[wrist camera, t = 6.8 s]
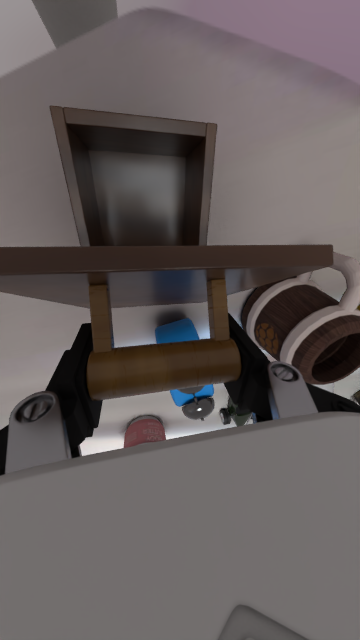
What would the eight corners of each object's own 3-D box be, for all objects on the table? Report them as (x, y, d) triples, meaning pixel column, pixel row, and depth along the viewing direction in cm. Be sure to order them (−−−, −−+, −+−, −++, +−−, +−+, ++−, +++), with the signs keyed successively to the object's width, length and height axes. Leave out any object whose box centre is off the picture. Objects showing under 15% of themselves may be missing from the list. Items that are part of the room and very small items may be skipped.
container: (114, 424, 47) (111, 461, 40) (151, 406, 46) (154, 440, 40) (138, 441, 53) (138, 476, 46) (171, 425, 52) (177, 458, 45)
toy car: (262, 365, 47) (274, 380, 42) (248, 415, 57) (257, 431, 53) (226, 371, 45) (235, 387, 41) (218, 421, 55) (225, 438, 51)
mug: (290, 339, 44) (353, 392, 31) (230, 340, 41) (273, 401, 28) (334, 247, 34) (451, 272, 22) (260, 239, 31) (346, 262, 18)
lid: (-85, 246, 5) (-63, 453, 5) (333, 243, 7) (342, 386, 7) (92, 302, 21) (96, 350, 21) (202, 295, 24) (205, 339, 24)
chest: (79, 140, 21) (48, 104, 14) (191, 149, 24) (217, 123, 16) (104, 278, 29) (93, 303, 22) (186, 275, 32) (201, 297, 24)
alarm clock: (151, 313, 34) (160, 377, 21) (185, 303, 34) (214, 360, 21) (169, 364, 41) (184, 436, 28) (197, 356, 41) (224, 423, 28)
